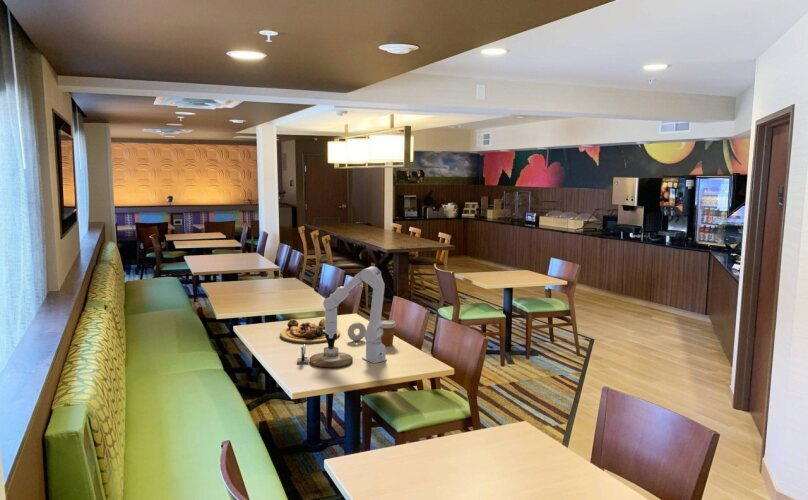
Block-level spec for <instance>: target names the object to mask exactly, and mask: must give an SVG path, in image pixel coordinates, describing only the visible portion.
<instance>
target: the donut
mask: <svg viewBox="0 0 808 500" xmlns="http://www.w3.org/2000/svg"><path fill="white" fill-rule="evenodd" d="M356 330H359V332H358V333H357V334H356V333H355V331H356ZM366 330H367V327H366V326H365V325H364V324H363V323H361V322H360V321H359V322H358V321H357V322H356V321H355V322H353V323H351V324H350V325H349V326H348V329H347V336H348V338H349V339H350V340H352V341H353V342H359V341H361V340H363V339H364V338H365V337H364V333H365V331H366Z"/></svg>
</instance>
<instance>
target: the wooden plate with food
mask: <svg viewBox="0 0 808 500" xmlns="http://www.w3.org/2000/svg"><path fill="white" fill-rule="evenodd" d="M286 325H287V327H286V328H285V329H283V330H281V331H280V333H279V337H280V338H281V340H283V341H285V342H286V343H287V342H288V343H291V344H298V345H300V344H301V345H303V344H305V345H315V344H324V343H328V342H327V339H326V337H325V334H327V333H325V332H323V330H325V318H321V319H320V321H319V322H318V324H315V323H311V322H308V321H305V322H302V323H301V324H299V322H298V321H297V320H296V319H295V318H292V319H289V320H288V322H287V324H286ZM340 336H341V332H340V330H338V332H337V337H336V339H335V340H337V339H339V338H340Z"/></svg>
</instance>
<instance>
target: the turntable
mask: <svg viewBox="0 0 808 500" xmlns="http://www.w3.org/2000/svg"><path fill="white" fill-rule="evenodd" d="M353 361H354V360H353V356H352V355H351V354H349V353H345V352H340V351H338V356H335V357H326V356H324V352H319V353H316V354H312V355H311V356H310V357H309V364H310V365H312V366H315V367H319V368H341V367H345V366H348V365H350V364H351V363H353Z"/></svg>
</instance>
